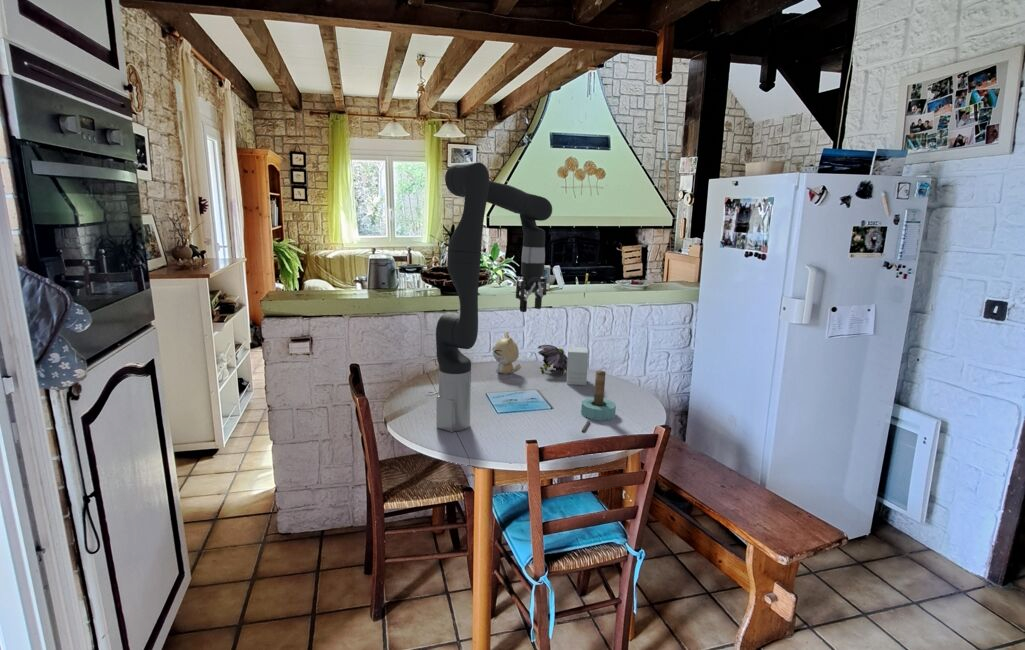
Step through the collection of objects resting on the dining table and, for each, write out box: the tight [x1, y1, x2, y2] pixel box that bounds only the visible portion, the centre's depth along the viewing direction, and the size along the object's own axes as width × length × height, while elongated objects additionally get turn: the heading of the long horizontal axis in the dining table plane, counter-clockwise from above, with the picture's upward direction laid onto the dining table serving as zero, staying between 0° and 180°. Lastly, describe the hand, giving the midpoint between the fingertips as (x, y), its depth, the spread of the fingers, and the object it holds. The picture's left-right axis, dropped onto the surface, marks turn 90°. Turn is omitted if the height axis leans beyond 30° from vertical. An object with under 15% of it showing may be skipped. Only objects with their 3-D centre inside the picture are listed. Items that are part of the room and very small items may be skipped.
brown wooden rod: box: [593, 370, 606, 407], centre depth 176 cm, size 3×3×14 cm
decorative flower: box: [537, 344, 568, 376], centre depth 219 cm, size 15×12×15 cm
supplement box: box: [566, 346, 589, 386], centre depth 207 cm, size 7×7×13 cm
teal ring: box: [580, 397, 617, 421], centre depth 177 cm, size 10×10×4 cm
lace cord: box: [581, 419, 591, 433], centre depth 167 cm, size 8×1×1 cm, turn 160°
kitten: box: [492, 331, 522, 374], centre depth 216 cm, size 15×10×15 cm
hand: (530, 310), depth 184 cm, fingers open, 8 cm apart
